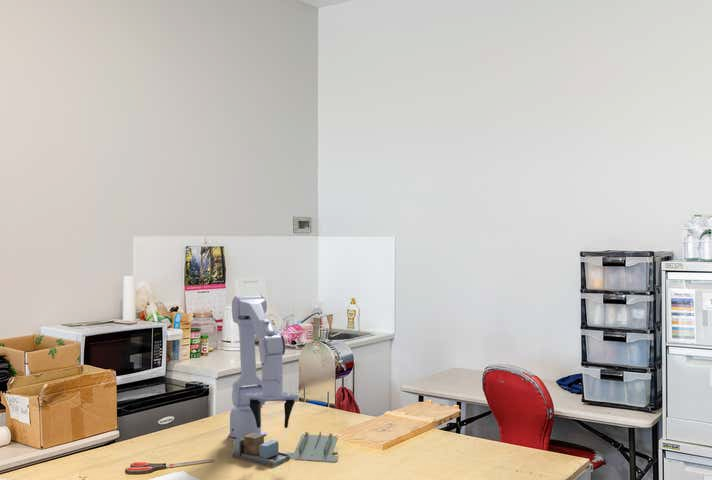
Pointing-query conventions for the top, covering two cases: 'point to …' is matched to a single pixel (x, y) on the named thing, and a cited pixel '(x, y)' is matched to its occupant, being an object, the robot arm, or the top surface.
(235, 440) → the vise
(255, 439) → the block
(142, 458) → the top surface
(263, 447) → the block
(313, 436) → the metal bracket
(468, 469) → the top surface
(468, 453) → the top surface
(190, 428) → the top surface
